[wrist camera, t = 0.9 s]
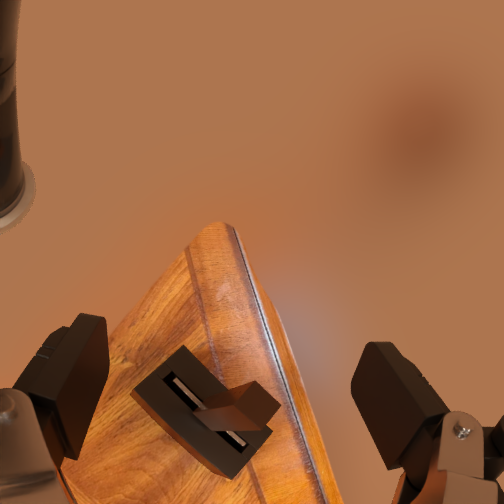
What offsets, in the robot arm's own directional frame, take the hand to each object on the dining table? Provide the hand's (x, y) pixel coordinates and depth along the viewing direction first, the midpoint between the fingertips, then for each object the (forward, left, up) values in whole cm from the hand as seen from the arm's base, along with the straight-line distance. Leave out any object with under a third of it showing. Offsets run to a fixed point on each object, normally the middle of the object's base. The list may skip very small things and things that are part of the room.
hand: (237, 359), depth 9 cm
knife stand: (+4, +2, -23) cm, 23 cm away
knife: (+4, +2, -23) cm, 23 cm away
